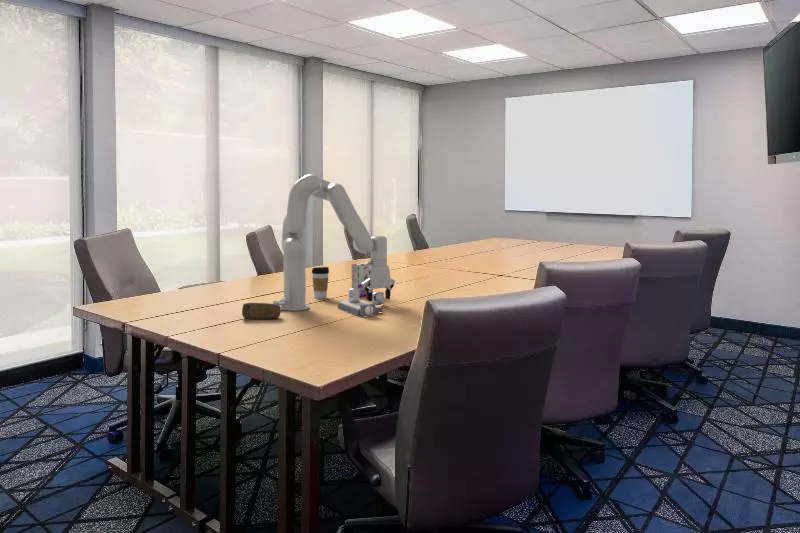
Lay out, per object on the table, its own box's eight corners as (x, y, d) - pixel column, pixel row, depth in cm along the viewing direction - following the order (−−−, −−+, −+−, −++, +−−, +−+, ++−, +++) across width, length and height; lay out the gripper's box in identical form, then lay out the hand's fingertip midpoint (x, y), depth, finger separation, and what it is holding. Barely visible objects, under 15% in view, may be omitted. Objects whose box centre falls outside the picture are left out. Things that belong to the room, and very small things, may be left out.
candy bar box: (365, 293, 303) (365, 261, 301) (372, 294, 300) (373, 262, 298) (350, 296, 294) (351, 263, 292) (358, 297, 291) (358, 264, 289)
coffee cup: (327, 299, 285) (327, 268, 283) (310, 299, 285) (310, 268, 283) (330, 296, 293) (330, 266, 291) (313, 296, 293) (313, 266, 291)
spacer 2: (376, 306, 270) (376, 293, 269) (370, 304, 274) (370, 292, 273) (385, 305, 272) (385, 293, 272) (379, 303, 277) (380, 291, 276)
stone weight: (241, 321, 236) (241, 304, 235) (243, 317, 243) (243, 301, 242) (280, 320, 239) (279, 304, 238) (280, 316, 246) (280, 301, 245)
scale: (362, 317, 246) (362, 306, 245) (337, 308, 265) (337, 297, 264) (386, 314, 252) (386, 303, 252) (361, 305, 271) (361, 295, 271)
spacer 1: (352, 303, 260) (352, 290, 260) (346, 301, 265) (346, 288, 264) (361, 302, 263) (362, 289, 262) (356, 300, 267) (356, 287, 266)
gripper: (366, 265, 263) (366, 303, 265) (399, 262, 272) (398, 299, 274) (358, 263, 269) (358, 300, 271) (390, 261, 278) (390, 296, 281)
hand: (378, 299), depth 273 cm, fingers open, 9 cm apart
